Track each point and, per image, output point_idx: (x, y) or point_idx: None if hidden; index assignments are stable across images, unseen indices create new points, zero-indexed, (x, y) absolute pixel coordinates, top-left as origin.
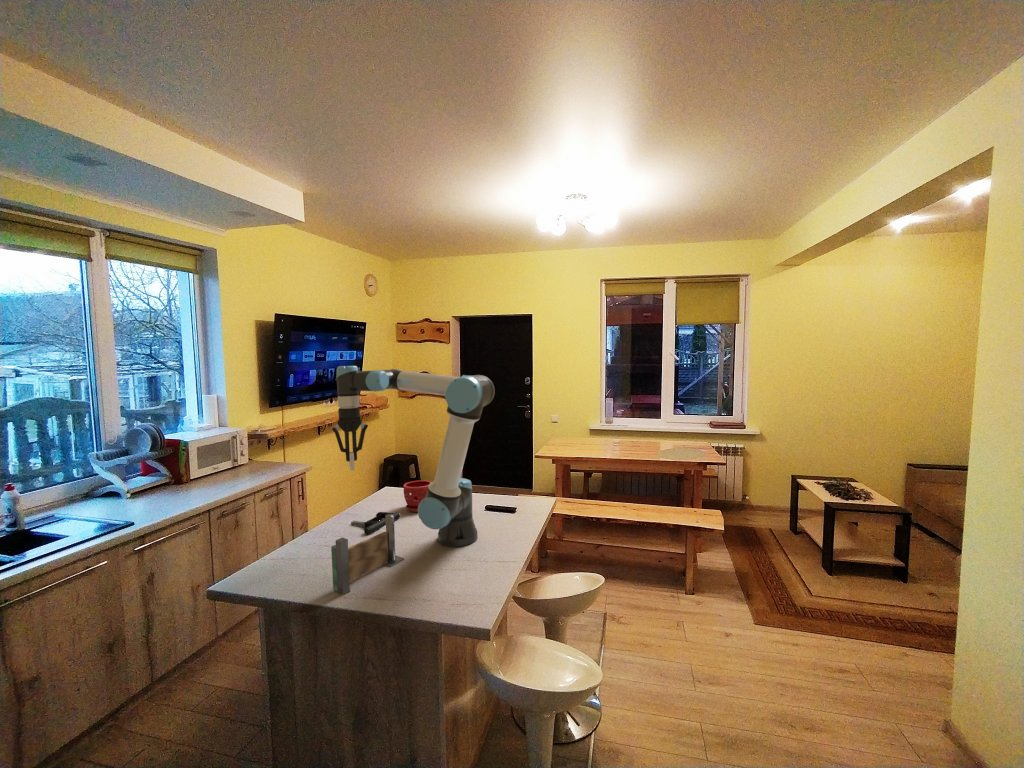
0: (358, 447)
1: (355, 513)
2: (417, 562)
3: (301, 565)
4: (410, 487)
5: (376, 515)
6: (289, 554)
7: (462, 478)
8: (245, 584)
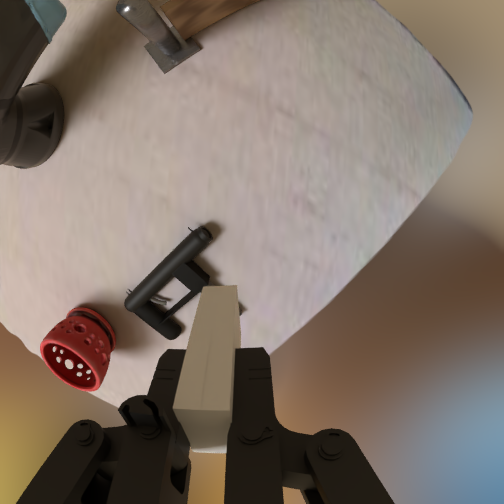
0: (103, 458)
1: None
2: (125, 30)
3: (368, 123)
4: (78, 353)
5: (179, 329)
6: (387, 199)
7: None
8: (447, 107)
